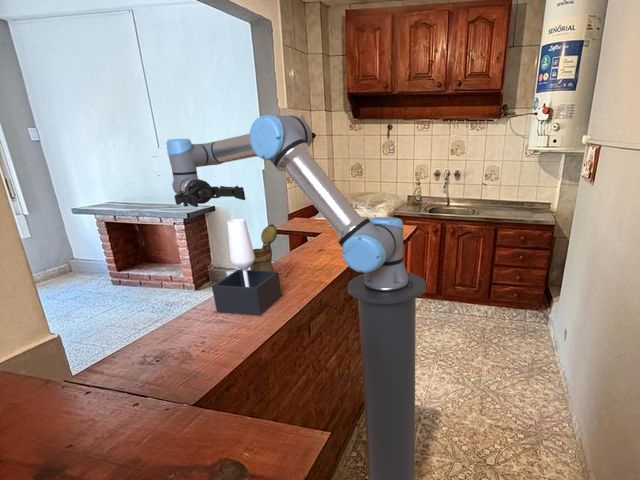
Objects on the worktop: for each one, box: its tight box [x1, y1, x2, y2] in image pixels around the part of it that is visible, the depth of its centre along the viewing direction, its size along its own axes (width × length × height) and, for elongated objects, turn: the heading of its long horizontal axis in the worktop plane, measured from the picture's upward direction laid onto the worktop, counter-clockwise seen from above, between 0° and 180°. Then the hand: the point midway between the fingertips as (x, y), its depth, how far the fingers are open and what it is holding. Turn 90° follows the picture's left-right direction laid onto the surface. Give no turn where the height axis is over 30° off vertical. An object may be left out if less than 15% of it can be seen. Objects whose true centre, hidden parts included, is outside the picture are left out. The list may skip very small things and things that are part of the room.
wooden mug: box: [249, 223, 278, 271], centre depth 133 cm, size 9×14×18 cm, turn 159°
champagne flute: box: [226, 218, 255, 287], centre depth 113 cm, size 7×7×24 cm
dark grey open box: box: [211, 269, 282, 316], centre depth 117 cm, size 14×14×8 cm
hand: (220, 198), depth 114 cm, fingers open, 13 cm apart
